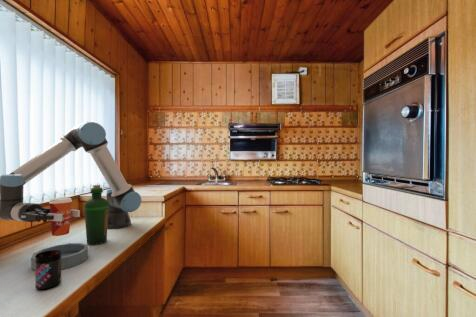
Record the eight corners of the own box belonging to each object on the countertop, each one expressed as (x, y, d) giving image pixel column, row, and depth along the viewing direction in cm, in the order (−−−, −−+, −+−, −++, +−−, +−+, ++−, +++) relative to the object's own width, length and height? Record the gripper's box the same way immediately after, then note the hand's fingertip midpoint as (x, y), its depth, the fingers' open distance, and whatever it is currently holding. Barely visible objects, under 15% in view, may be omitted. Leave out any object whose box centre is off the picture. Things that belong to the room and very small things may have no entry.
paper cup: (60, 237, 94) (60, 200, 94) (43, 236, 96) (43, 199, 96) (77, 231, 102) (77, 197, 102) (61, 230, 103) (61, 196, 104)
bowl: (87, 250, 111) (87, 240, 111) (88, 264, 96) (88, 253, 96) (36, 259, 102) (36, 248, 102) (27, 276, 87) (27, 264, 87)
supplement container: (34, 285, 80) (34, 253, 80) (60, 279, 85) (60, 248, 85) (35, 294, 75) (35, 259, 75) (62, 286, 80) (62, 254, 80)
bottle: (114, 240, 125) (113, 184, 125) (95, 247, 115) (95, 186, 115) (98, 238, 129) (97, 183, 129) (78, 244, 119) (78, 186, 119)
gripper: (51, 216, 113) (91, 219, 107) (-1, 227, 94) (44, 232, 88) (51, 199, 113) (91, 202, 107) (-1, 207, 94) (44, 211, 88)
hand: (70, 215), depth 97 cm, fingers closed on paper cup, 7 cm apart
